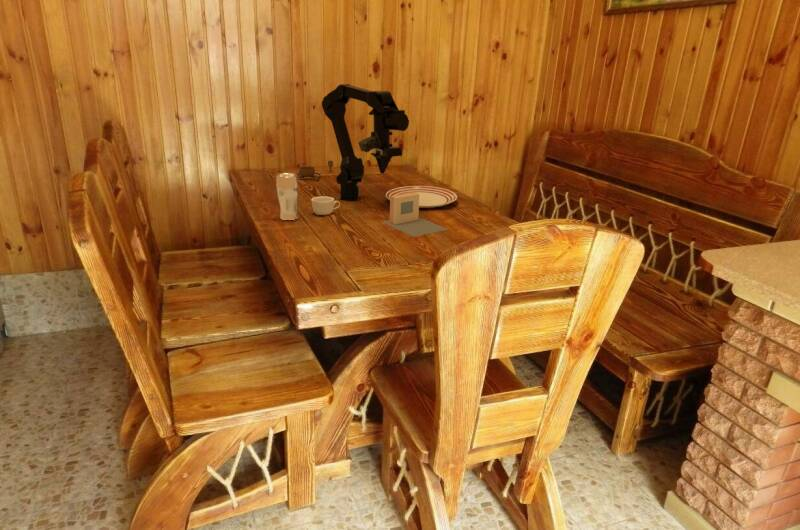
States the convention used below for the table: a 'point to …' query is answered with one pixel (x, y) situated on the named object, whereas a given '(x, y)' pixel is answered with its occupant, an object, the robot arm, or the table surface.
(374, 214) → the table surface
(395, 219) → the tile
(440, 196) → the dinner plate
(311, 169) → the place setting
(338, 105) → the robot arm
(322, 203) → the teacup
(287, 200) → the beer glass
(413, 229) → the mat
